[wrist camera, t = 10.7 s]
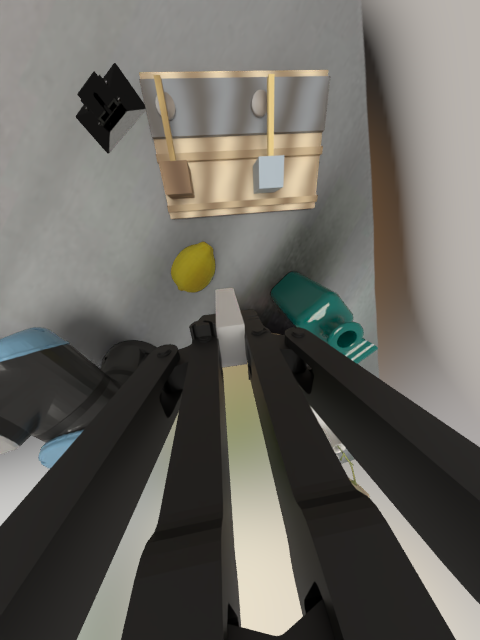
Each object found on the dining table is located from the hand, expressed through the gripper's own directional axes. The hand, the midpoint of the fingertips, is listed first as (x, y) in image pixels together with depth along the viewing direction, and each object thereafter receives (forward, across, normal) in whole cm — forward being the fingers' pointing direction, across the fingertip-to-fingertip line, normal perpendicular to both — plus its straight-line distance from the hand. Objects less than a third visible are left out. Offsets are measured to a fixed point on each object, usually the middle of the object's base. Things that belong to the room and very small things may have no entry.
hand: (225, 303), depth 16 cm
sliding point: (+25, +10, +17) cm, 32 cm away
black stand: (+27, -14, +23) cm, 38 cm away
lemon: (+27, -5, -1) cm, 27 cm away
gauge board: (+26, +6, +17) cm, 32 cm away
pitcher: (+27, +17, -10) cm, 33 cm away
